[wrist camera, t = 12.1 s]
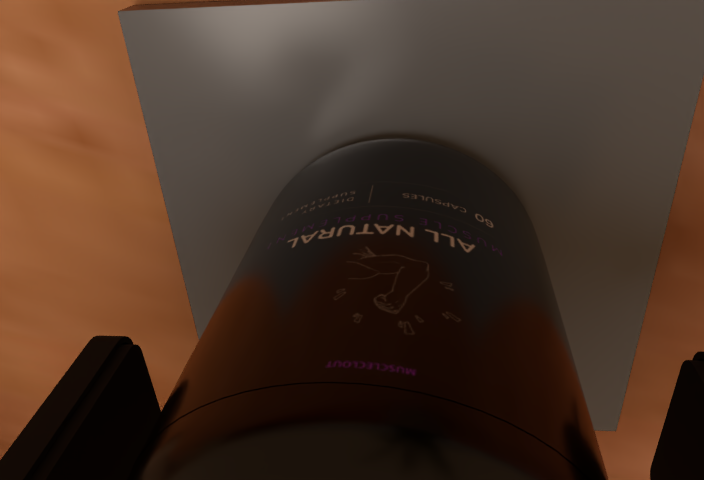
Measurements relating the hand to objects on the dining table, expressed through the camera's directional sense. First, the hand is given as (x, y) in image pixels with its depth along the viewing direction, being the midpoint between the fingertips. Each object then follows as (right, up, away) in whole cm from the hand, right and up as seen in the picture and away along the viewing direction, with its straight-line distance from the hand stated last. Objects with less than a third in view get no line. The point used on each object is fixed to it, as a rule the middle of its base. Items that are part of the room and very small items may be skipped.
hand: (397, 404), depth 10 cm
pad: (+1, +3, +5) cm, 6 cm away
